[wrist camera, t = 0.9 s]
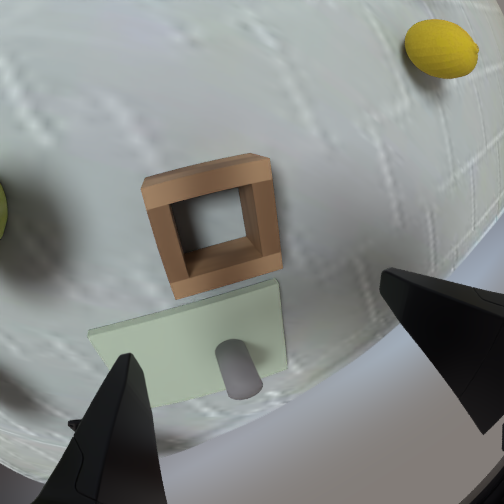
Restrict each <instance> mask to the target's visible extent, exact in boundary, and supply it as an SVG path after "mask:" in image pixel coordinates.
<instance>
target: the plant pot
mask: <svg viewBox="0 0 504 504" xmlns="http://www.w3.org/2000/svg"><path fill="white" fill-rule="evenodd" d="M7 214H8V213H7V202H6V197H5V193H4V191H3V188H2V186H1V184H0V239H1V238H2V235H3V233H4V229H5V226H6V222H7Z"/></svg>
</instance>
